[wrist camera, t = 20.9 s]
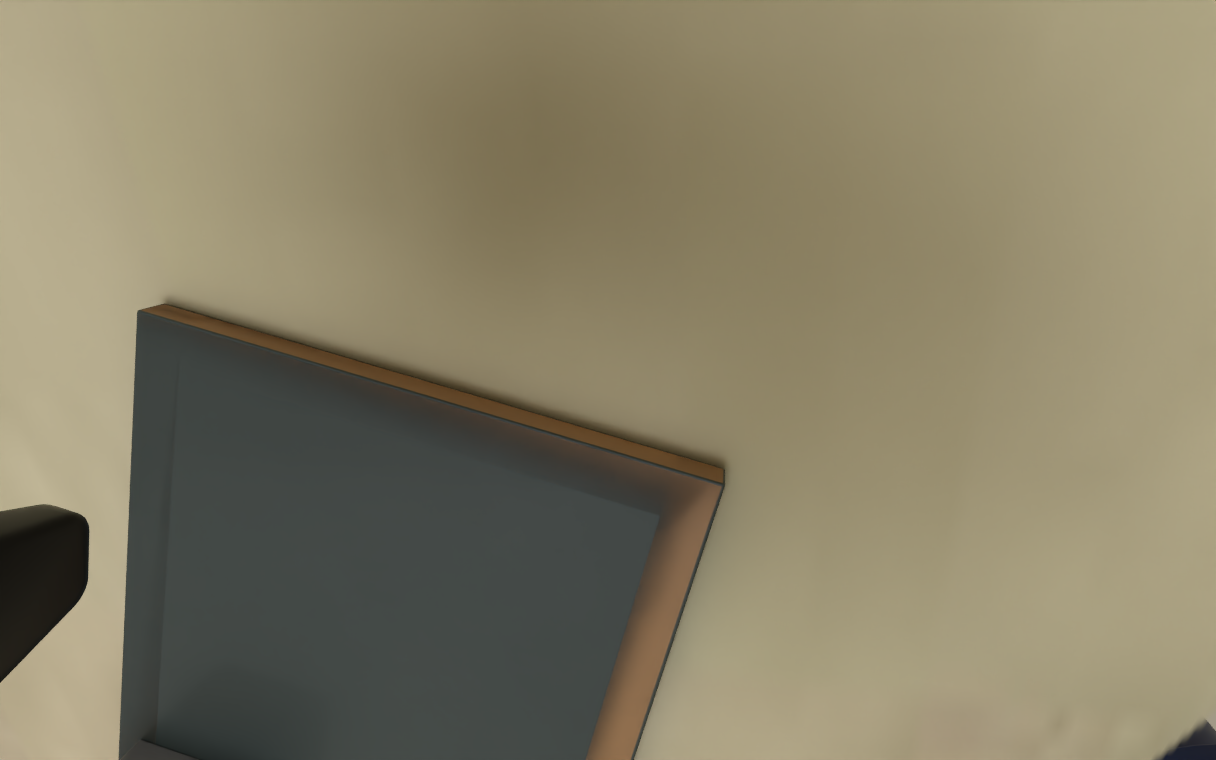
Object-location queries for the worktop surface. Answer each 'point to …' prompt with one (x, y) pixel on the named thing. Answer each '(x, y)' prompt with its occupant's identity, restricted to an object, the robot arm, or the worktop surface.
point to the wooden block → (153, 753)
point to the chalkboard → (387, 562)
